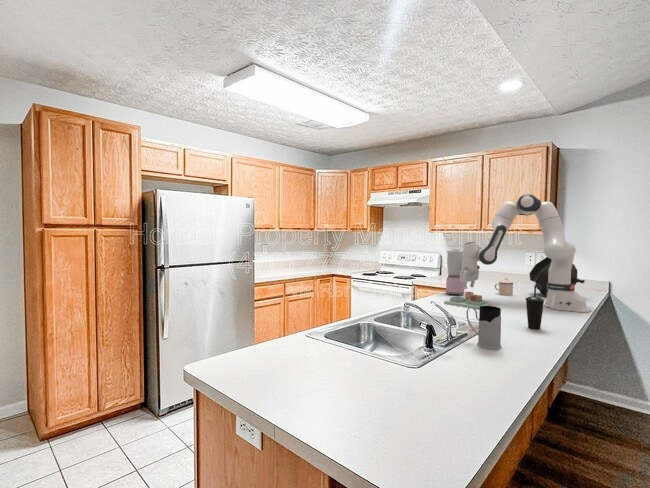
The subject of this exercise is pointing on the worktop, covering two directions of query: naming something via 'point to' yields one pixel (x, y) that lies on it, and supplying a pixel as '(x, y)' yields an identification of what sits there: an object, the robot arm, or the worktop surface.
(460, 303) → the shape board
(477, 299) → the square piece
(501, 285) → the teacup with lid
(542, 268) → the wok
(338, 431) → the worktop surface
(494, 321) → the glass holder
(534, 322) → the drinking cup
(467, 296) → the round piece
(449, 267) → the blender
